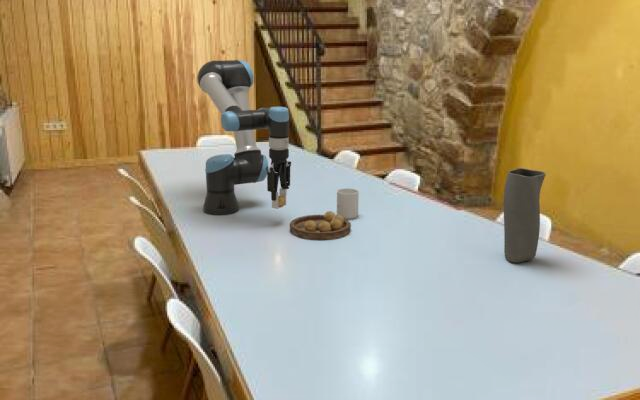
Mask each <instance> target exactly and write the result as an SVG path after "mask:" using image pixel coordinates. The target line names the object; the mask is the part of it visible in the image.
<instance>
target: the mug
mask: <svg viewBox="0 0 640 400" xmlns="http://www.w3.org/2000/svg"><path fill="white" fill-rule="evenodd" d="M359 195H360V194H359V190H358V189H356V188H351V187H350V188H348V187H347V188H339V189H337V190H336V215H341V216H342V217H343V218H344V219H346V220H348V221H349V220H355V219H356V218H357V217H358V216H359V200H360V199H359Z"/></svg>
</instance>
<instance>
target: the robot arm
mask: <svg viewBox="0 0 640 400" xmlns="http://www.w3.org/2000/svg"><path fill="white" fill-rule="evenodd" d="M198 70H199V71H198V73H197V78H196V79H197V83H198V86H199V89H201V91H202V92H203V93H205V94H207V95H208V96H209V98H210V100H211V101H212V103H213V104H214V106H215V107H216V109H217V110H218V112H219V113H220V115H221V116H220V124H221V128H222V129H223V130H224V131H225V132H233V134H234V141H235V145H236V146H235V147H236V151H235V152H234V153H233V155H234V156H233V155H232V154H229V153H226V154H216V155H214V156H213V155H212V156H211V157H209V158H207V159H206V160H205V168H204V170H205V180H206V181H205V183H206V193H205V194H206V196H205V198H204V203H203V207H202V208H203V213H206V214H208V215H212V216H215V215H217V216H221V215H222V216H223V215H231V214H234V213H237V212H239V210H240V205H239V202H238V199H237V196H236V193H235V186H237V185H243V184H245V185H247V184H256V183H259V182H260V183H261V182H263V181H265V179H266V180H267V192H270V193H271V194H270V196H271V198H270V199H271V208H273V209H277V210H278V209H279V201H278V196H282V197H284V198H285V205H284V206H287V190H289V189H290V187H291V166H292V162H291V161H289V160H288V159H289V156H290V155H289V153H290V152H289V151H290V149H289V147H290V143H289V142H290V141H289V140H290V139H289V138H290V135H289V133H290V113H289V111H290V110H289V109H288V108H287V107H285V106H271V107H269V108H268V107H261V108H259V109H251V107H250V100H249V99H250V98H249V95H248V94H249V92H250V91H251V87H252V86H253V85H254V72H253V69H252V67H251V65H250V64H249V63H248V62H247V60H241V59H240V60H239V59H235V60H232V59H231V60H211V61H208V62H206V63H204V64H203V65H202V66H201V67H200V69H198ZM255 130H268V147H269V149H268V158H269V159H270V160H271V162H270V165H269V161H268V158H267V156H266V155H265V154H262V150H261V149H260V148H258V146H257V142H256V135H255ZM279 183H280V188H278V187H279ZM278 189H279V191H278Z"/></svg>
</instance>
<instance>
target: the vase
mask: <svg viewBox="0 0 640 400" xmlns="http://www.w3.org/2000/svg"><path fill="white" fill-rule="evenodd" d="M546 175H547V173H546V172H545V171H540V170H536V169H535V170H533V169H528V168H523V167H521V168H520V167H519V168H518V167H517V168H515V169H512V170H509V171H508V172H507V176H506V179H505V183H504V189H503V198H502V199H503V201H502V203H503V205H502V206H503V229H504V230H503V233H504V238H503V240H504V243H503V244H504V248H503V249H504V258H505V259H506V261H508V262H511V263H512V264H513V263H514V264H515V263H516V264H517V263H518V264H519V263H522V262H528V261H531V260H533V259H534V258H536V255H537V250H538V245H539V239H540V238H539V237H540V228H541V227H540V226H541V212H540V211H541V210H540V209H541V207H540V197H541V195H540V194H541V190H542V187H543V183H544V181H545V177H546Z"/></svg>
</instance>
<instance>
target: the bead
mask: <svg viewBox="0 0 640 400" xmlns="http://www.w3.org/2000/svg"><path fill="white" fill-rule="evenodd" d="M278 201H279V208H284V206H286V205H285V198H284V197H282V196H280V195H278ZM279 208H278V209H279Z"/></svg>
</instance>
